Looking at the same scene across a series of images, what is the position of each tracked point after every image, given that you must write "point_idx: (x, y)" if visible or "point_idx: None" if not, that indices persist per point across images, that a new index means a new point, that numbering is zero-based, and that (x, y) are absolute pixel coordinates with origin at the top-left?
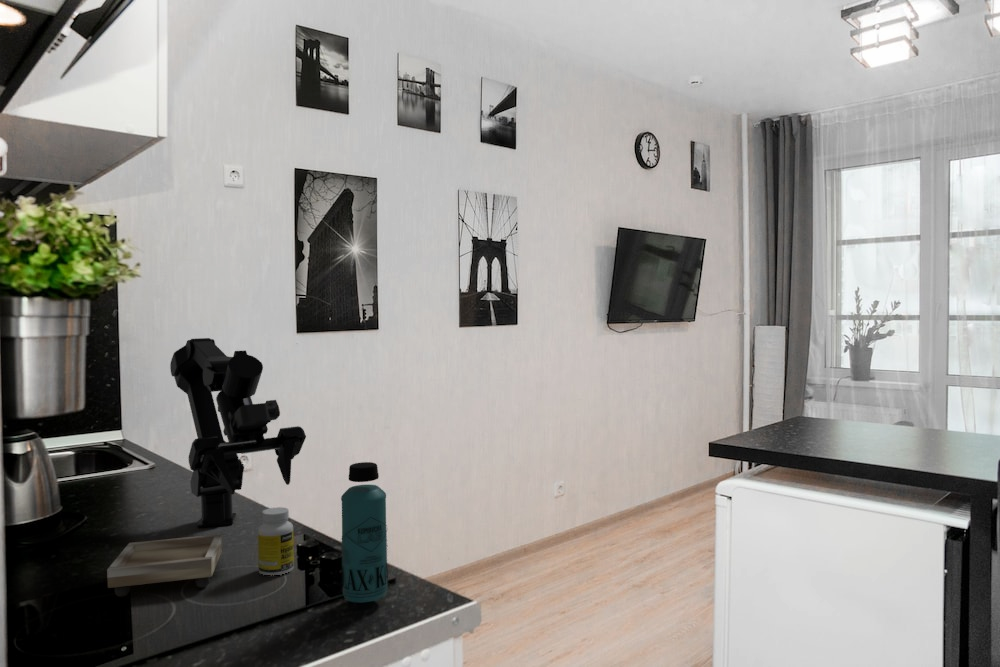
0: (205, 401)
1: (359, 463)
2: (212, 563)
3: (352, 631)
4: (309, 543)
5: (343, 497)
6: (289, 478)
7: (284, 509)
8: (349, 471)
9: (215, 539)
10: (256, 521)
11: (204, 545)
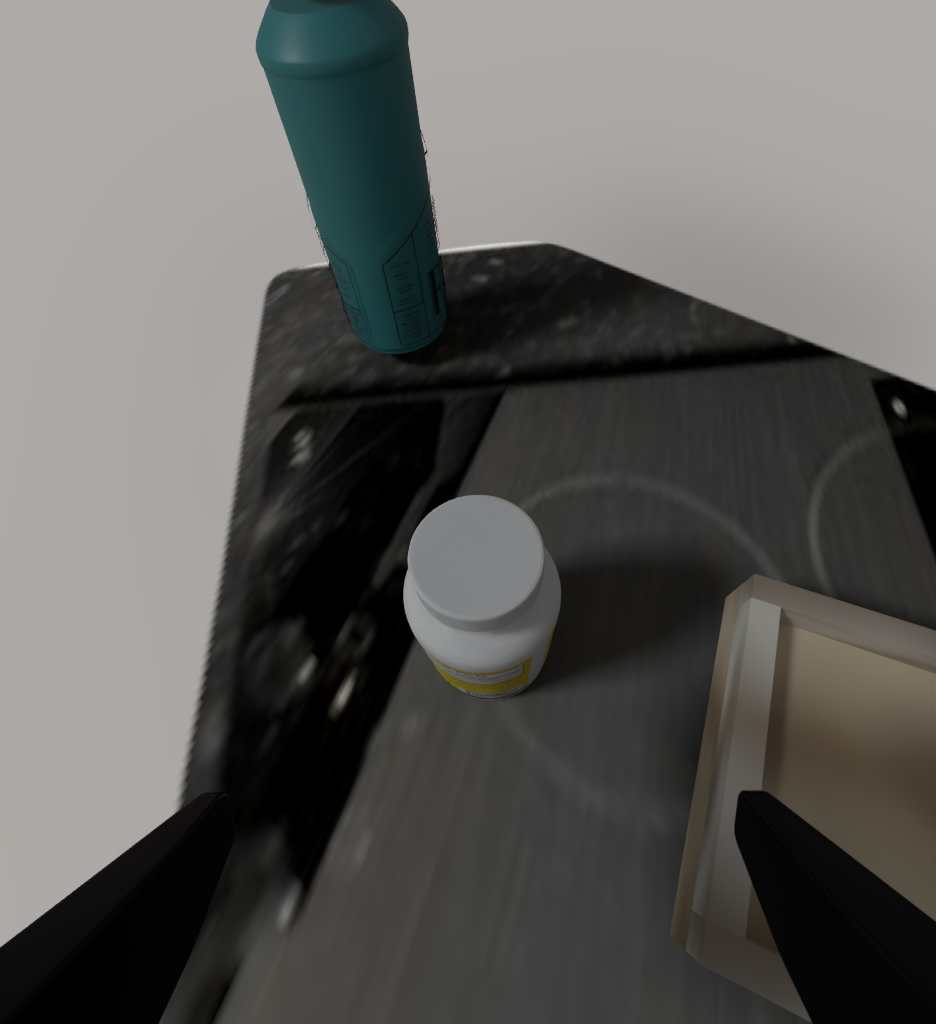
0: None
1: None
2: (737, 612)
3: (477, 278)
4: (252, 886)
5: (401, 19)
6: (188, 808)
7: (428, 545)
8: None
9: (739, 862)
10: None
11: None
